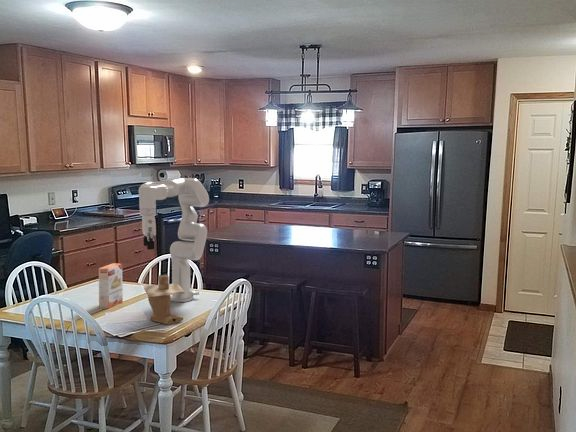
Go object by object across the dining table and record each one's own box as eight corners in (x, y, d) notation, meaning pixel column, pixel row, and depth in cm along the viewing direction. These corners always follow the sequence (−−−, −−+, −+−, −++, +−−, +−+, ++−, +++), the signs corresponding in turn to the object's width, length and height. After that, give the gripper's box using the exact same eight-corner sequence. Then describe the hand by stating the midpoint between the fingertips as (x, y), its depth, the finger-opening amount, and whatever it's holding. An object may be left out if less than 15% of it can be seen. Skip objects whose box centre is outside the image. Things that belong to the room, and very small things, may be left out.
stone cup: (143, 321, 246) (142, 290, 244) (163, 316, 255) (163, 285, 253) (163, 329, 236) (163, 296, 235) (184, 322, 246) (184, 291, 244)
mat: (142, 310, 263) (142, 309, 263) (147, 321, 247) (147, 319, 247) (104, 314, 257) (104, 312, 256) (106, 325, 240) (106, 324, 240)
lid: (177, 285, 255) (177, 271, 254) (184, 293, 240) (184, 278, 239) (143, 288, 249) (143, 273, 248) (148, 296, 234) (148, 281, 233)
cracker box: (109, 309, 264) (108, 268, 261) (98, 308, 265) (97, 268, 262) (123, 302, 277) (122, 263, 275) (113, 301, 278) (112, 262, 276)
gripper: (159, 213, 242) (160, 250, 245) (152, 209, 258) (153, 243, 260) (142, 214, 239) (144, 251, 241) (136, 210, 255) (137, 244, 257)
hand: (148, 247), depth 251 cm, fingers open, 9 cm apart
